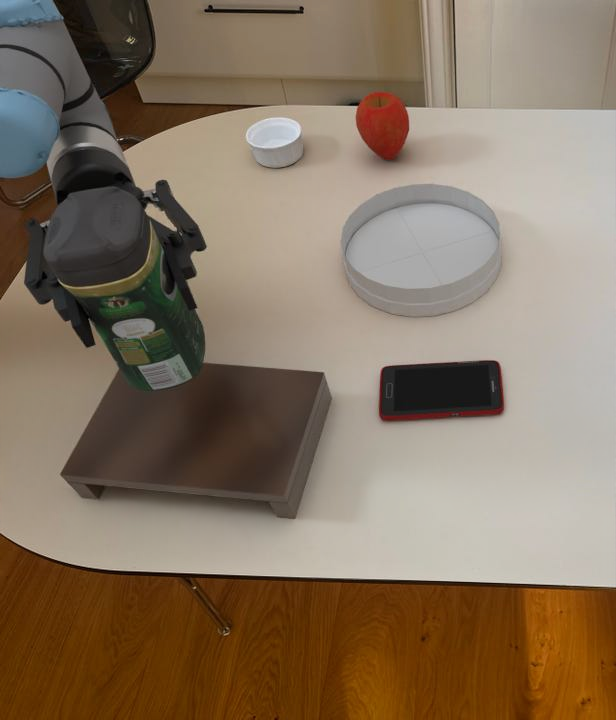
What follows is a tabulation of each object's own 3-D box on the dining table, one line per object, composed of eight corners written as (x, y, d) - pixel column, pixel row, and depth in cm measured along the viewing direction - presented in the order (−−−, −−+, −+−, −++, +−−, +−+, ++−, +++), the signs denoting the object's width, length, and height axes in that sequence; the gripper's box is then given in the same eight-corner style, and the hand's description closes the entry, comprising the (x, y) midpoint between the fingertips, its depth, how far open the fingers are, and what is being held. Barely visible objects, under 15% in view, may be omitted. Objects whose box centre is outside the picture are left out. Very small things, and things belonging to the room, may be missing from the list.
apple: (351, 156, 116) (339, 95, 108) (391, 135, 120) (383, 75, 111) (383, 179, 112) (373, 118, 104) (424, 157, 115) (418, 96, 107)
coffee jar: (131, 330, 74) (43, 185, 60) (208, 316, 75) (139, 170, 61) (124, 403, 68) (23, 260, 54) (207, 386, 69) (131, 243, 55)
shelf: (81, 498, 77) (59, 474, 73) (142, 382, 87) (125, 356, 83) (295, 519, 75) (283, 496, 71) (332, 397, 85) (324, 371, 81)
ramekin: (271, 135, 120) (264, 112, 117) (316, 145, 118) (311, 122, 115) (242, 164, 115) (234, 141, 112) (289, 175, 113) (282, 152, 110)
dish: (374, 338, 91) (368, 311, 87) (326, 235, 103) (319, 208, 100) (528, 286, 96) (530, 258, 92) (464, 194, 109) (463, 167, 105)
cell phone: (381, 370, 87) (380, 365, 86) (500, 363, 87) (500, 358, 86) (379, 422, 82) (377, 417, 81) (504, 415, 82) (504, 410, 82)
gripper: (203, 178, 80) (265, 303, 67) (4, 239, 74) (30, 391, 61) (180, 118, 74) (243, 243, 61) (-38, 179, 68) (-19, 333, 55)
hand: (137, 317), depth 61 cm, fingers closed on coffee jar, 8 cm apart
